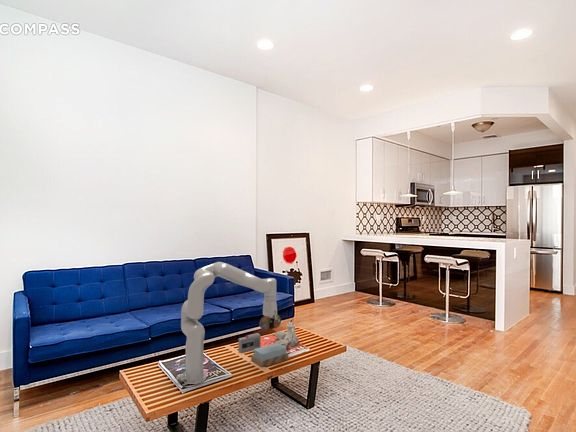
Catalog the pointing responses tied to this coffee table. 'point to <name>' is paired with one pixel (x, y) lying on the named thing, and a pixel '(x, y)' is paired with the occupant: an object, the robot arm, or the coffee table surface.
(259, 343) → the cassette player
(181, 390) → the coffee table surface
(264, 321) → the brown rounded slab
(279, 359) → the tower base
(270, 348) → the blue-grey rectangular block
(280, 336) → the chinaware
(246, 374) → the coffee table surface
